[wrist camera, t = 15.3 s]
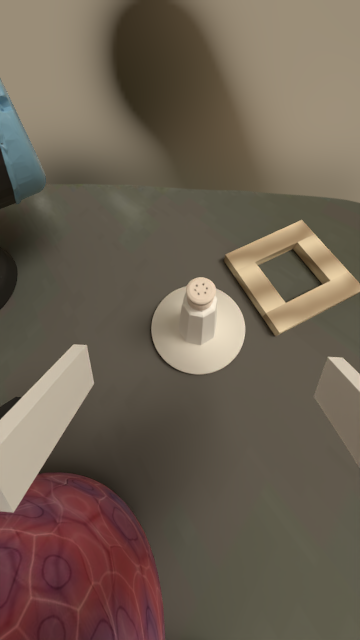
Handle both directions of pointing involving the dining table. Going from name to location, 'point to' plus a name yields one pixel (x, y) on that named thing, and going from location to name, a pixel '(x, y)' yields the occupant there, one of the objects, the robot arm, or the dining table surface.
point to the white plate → (192, 355)
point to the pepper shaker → (199, 312)
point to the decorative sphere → (76, 566)
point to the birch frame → (314, 256)
